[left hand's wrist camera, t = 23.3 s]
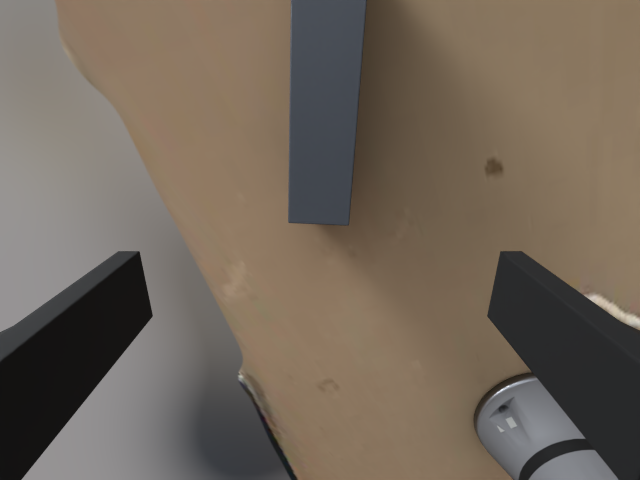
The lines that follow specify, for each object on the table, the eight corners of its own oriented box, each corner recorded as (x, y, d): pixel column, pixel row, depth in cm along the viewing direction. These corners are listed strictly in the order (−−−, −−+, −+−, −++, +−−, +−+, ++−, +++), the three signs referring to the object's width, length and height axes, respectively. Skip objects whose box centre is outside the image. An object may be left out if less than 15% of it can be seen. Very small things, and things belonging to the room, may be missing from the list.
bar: (342, 201, 38) (348, 225, 30) (295, 198, 38) (288, 223, 30) (360, -54, 30) (375, -113, 22) (300, -57, 30) (292, -118, 22)
